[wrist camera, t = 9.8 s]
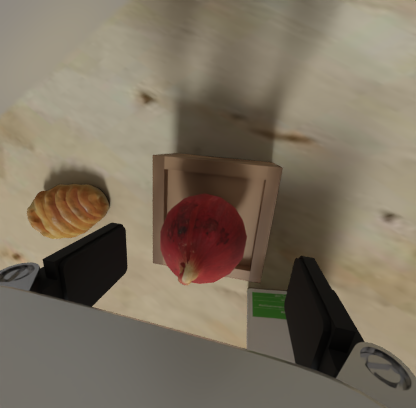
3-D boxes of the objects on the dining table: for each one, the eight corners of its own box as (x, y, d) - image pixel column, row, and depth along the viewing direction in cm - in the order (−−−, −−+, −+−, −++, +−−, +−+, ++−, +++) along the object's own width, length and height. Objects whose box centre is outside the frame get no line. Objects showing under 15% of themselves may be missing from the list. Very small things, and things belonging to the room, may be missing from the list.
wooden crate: (271, 162, 19) (282, 167, 14) (256, 250, 22) (260, 283, 17) (176, 153, 21) (152, 155, 15) (174, 236, 24) (152, 263, 18)
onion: (172, 193, 17) (113, 230, 9) (237, 178, 15) (230, 206, 8) (190, 252, 18) (152, 326, 11) (252, 242, 17) (258, 320, 9)
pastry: (97, 169, 23) (70, 173, 20) (122, 219, 25) (101, 231, 21) (43, 193, 26) (11, 201, 22) (69, 237, 27) (42, 251, 24)
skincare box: (317, 291, 22) (458, 568, 8) (313, 335, 24) (420, 630, 9) (244, 287, 24) (243, 507, 9) (245, 328, 26) (245, 570, 11)
